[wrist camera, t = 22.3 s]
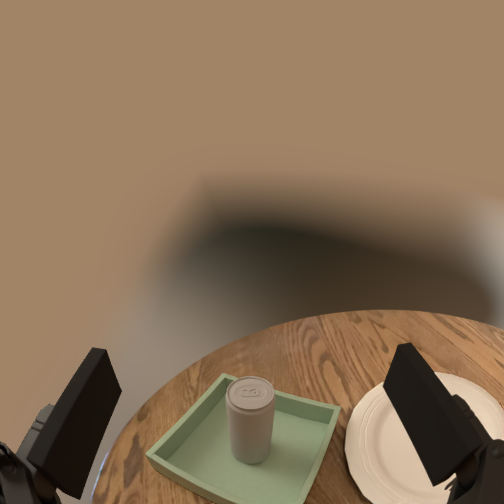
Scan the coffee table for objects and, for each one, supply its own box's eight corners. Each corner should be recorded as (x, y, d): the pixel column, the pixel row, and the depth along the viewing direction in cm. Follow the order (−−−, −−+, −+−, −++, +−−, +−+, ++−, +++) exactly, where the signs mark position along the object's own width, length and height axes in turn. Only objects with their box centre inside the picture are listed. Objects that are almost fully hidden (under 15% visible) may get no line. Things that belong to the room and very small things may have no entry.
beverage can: (272, 464, 25) (279, 408, 21) (231, 466, 25) (224, 411, 21) (267, 435, 30) (272, 373, 26) (230, 437, 29) (225, 375, 26)
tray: (154, 469, 24) (144, 453, 22) (224, 391, 39) (223, 372, 37) (288, 530, 16) (293, 522, 15) (334, 424, 31) (341, 406, 30)
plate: (404, 358, 43) (407, 350, 43) (520, 411, 21) (525, 404, 20) (295, 455, 27) (296, 448, 26) (461, 555, 4) (470, 551, 4)
